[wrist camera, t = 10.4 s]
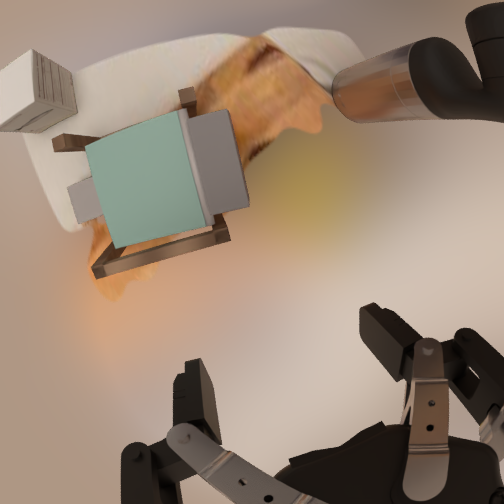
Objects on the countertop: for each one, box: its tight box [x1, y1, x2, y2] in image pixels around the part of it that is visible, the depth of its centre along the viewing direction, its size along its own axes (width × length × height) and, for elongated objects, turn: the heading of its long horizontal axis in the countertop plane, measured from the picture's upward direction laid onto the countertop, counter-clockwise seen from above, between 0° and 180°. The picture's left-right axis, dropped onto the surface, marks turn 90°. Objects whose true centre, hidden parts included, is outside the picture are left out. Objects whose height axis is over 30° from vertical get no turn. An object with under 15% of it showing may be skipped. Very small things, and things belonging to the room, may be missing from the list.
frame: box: [52, 87, 231, 279], centre depth 29 cm, size 14×15×12 cm
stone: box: [67, 177, 104, 224], centre depth 32 cm, size 5×5×6 cm
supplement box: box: [0, 49, 77, 133], centre depth 22 cm, size 7×7×13 cm
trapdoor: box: [85, 108, 249, 249], centre depth 26 cm, size 15×12×4 cm
